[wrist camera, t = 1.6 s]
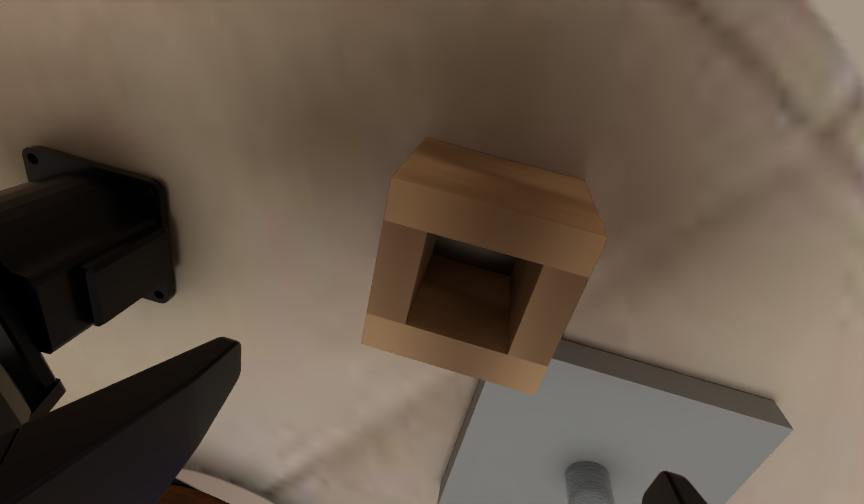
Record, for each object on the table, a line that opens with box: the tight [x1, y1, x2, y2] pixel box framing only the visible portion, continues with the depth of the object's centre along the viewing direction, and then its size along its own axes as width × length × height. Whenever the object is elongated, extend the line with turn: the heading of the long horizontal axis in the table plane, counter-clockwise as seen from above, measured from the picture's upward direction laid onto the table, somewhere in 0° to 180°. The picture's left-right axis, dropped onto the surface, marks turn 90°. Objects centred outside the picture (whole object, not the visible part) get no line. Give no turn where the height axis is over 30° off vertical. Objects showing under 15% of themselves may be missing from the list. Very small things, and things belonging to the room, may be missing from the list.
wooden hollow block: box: [361, 138, 608, 395], centre depth 15 cm, size 6×6×5 cm
